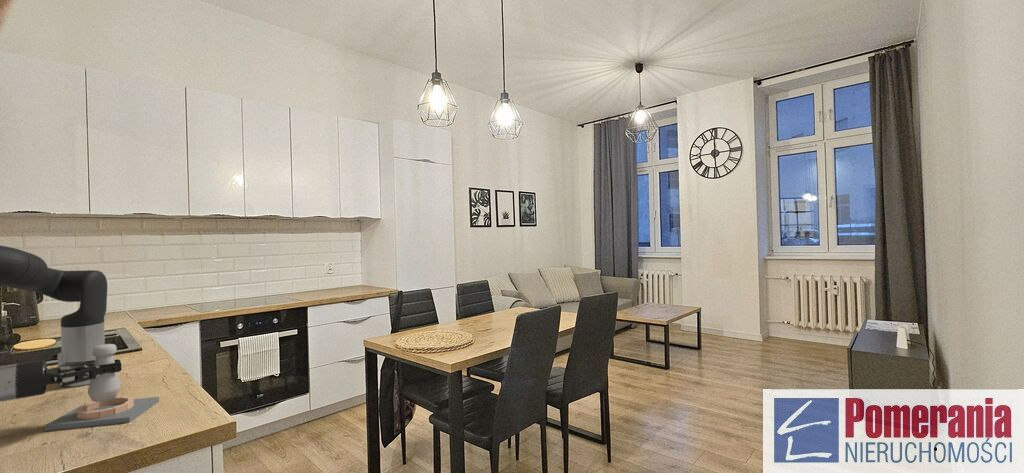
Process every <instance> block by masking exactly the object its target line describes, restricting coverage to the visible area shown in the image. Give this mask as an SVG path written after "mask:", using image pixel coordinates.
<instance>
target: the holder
mask: <svg viewBox="0 0 1024 473" xmlns="http://www.w3.org/2000/svg"><path fill="white" fill-rule="evenodd" d="M159 402H160V397H159V396H154V397H153V396H151V397H144V398H134V397H133V396H128V395H122V396H116V398H113V399H111V400H107V401H101V402H94V401H90V402H88V403H84V404H81V405H80V406H77V407H76V408H74V409H72V410H71V411H68V412H67V413H65V414H63V415H61V416H60V417H58V418H56V419H55V420H52V421H51V422H50V421H49V423H47V424H45V425H44V426H43V427H44V428H43V429H44V432H50V431H59V430H61V431H62V430H67V429H77V428H78V429H79V428H88V427H97V426H108V425H119V424H126V423H128V424H129V423H131V422H132V421H133V420H135V419H137V418H138V417H139V416H140V415H142V414H143V413H145V412H146V411H148V410H149V409H151V408H152V407H154V406H155V405H156V404H158V403H159Z"/></svg>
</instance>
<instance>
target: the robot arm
mask: <svg viewBox="0 0 1024 473" xmlns="http://www.w3.org/2000/svg"><path fill="white" fill-rule="evenodd" d="M107 280H108V279H107V278H106V275H105V274H104V272H102V271H100V270H94V269H93V270H92V269H91V270H89V269H88V270H87V269H86V270H61V269H55V268H51V267H48V264H47V263H46V261H45V260H44V259H43V258H42V257H40V256H38V255H36V254H34V253H31V252H28V251H25V250H22V249H18V248H15V247H10V246H4V245H0V286H2V287H7V288H12V289H18V290H21V291H22V290H23V291H29V292H34V293H38V294H40V295H43V296H46V297H49V298H51V299H54V300H57V301H60V302H65V303H66V302H67V303H73V302H74V303H76V302H78V303H80V304H79V308H78V309H77V310H76V311H74V312H72V313H69V314H65V315H64V316H62V317H61V318H60V338H61V340H60V341H61V343H60V344H61V346H60V348H61V349H60V350H61V351H60V352H59V353H57V366H56V367H51V368H48V362H47V361H46V360H37V361H30V362H29V361H27V362H21V363H14V364H8V365H0V403H1V402H2V403H3V402H8V401H13V400H19V399H24V398H25V399H26V398H30V397H36V396H42V395H45V394H46V393H47V391H48V390H47V389H48V385H55V384H56V385H57V386H58V387H68V388H69V387H79V386H86V385H89V384H90V380H91V379H95V378H96V377H98V376H100V374H101V375H102V374H103V373H109V372H110V373H115V372H117V373H120V372H121V371H122V362H121V360H120V359H114V361H115V363H110V364H105V365H95V366H94V363H95V359H96V356H93V354H92V351H93V348H94V347H96V346H99V345H103V344H106V343H105V342H106V341H105V340H106V339H105V334H106V333H105V316H106V313H107V308H108V307H107V306H108V302H107V300H108V281H107Z"/></svg>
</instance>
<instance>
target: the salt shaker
mask: <svg viewBox="0 0 1024 473" xmlns="http://www.w3.org/2000/svg"><path fill="white" fill-rule="evenodd" d="M117 350H118V349H117V345H116V344H114V343H105V344H103V345H99V346H96V347H94V348H93V351H92V354H93V356H96V359H95V363H94V366H95V365H105V364H110V363H115V361H114V360H115V357H114V355H115V354H116V353H117ZM120 390H121V382H120V379H119V375H118V372H115V373H110V372H109V373H103V374H102V375H101V374H100V376H98V377H96V378H95V379H91V380H90V384H88V389H87V394H88V396H89V398H90V399H91V402H101V401H107V400H111V399H113V398H116V397H118V394H119V391H120Z"/></svg>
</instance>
